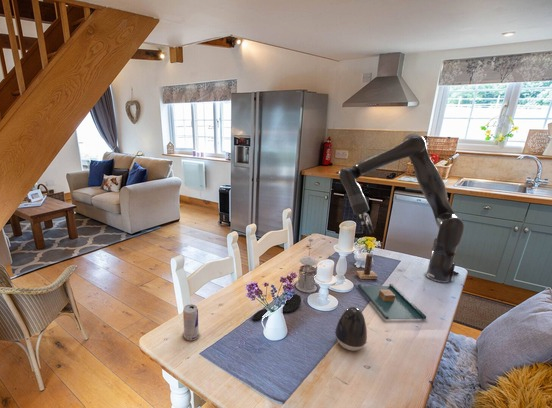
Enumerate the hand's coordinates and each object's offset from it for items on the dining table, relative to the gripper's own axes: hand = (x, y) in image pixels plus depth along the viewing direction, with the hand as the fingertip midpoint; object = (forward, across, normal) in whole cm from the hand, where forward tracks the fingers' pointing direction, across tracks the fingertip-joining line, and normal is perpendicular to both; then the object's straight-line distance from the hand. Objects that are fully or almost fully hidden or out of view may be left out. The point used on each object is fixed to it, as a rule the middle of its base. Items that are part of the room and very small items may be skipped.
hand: (370, 234), depth 153 cm
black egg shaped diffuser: (+36, -52, +10) cm, 64 cm away
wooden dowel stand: (+21, -1, +9) cm, 23 cm away
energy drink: (+19, -83, +55) cm, 101 cm away
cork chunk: (+28, -15, 0) cm, 32 cm away
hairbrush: (+20, -50, +35) cm, 65 cm away
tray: (+30, -17, 0) cm, 35 cm away
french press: (+16, -27, +30) cm, 43 cm away
